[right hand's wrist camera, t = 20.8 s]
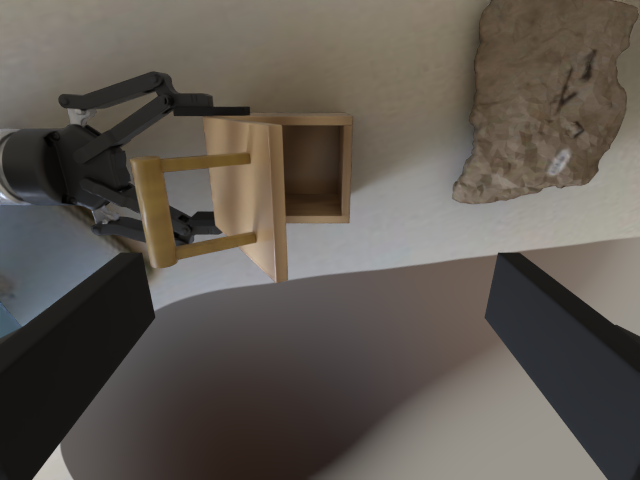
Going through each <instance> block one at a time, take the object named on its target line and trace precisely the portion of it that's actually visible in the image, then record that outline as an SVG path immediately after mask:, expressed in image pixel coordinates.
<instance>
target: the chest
mask: <svg viewBox="0 0 640 480" xmlns="http://www.w3.org/2000/svg"><path fill="white" fill-rule="evenodd" d="M214 117H222V118H230V119H238V120H246V121H254V122H262V123H270V124H278V125H282V137H283V163H284V189H285V215H286V223H349V219H350V216H349V215H350V188H351V158H352V128H353V126H352V124H353V116H351V115H349V114H347V113H250V115H245V116H214Z"/></svg>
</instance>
